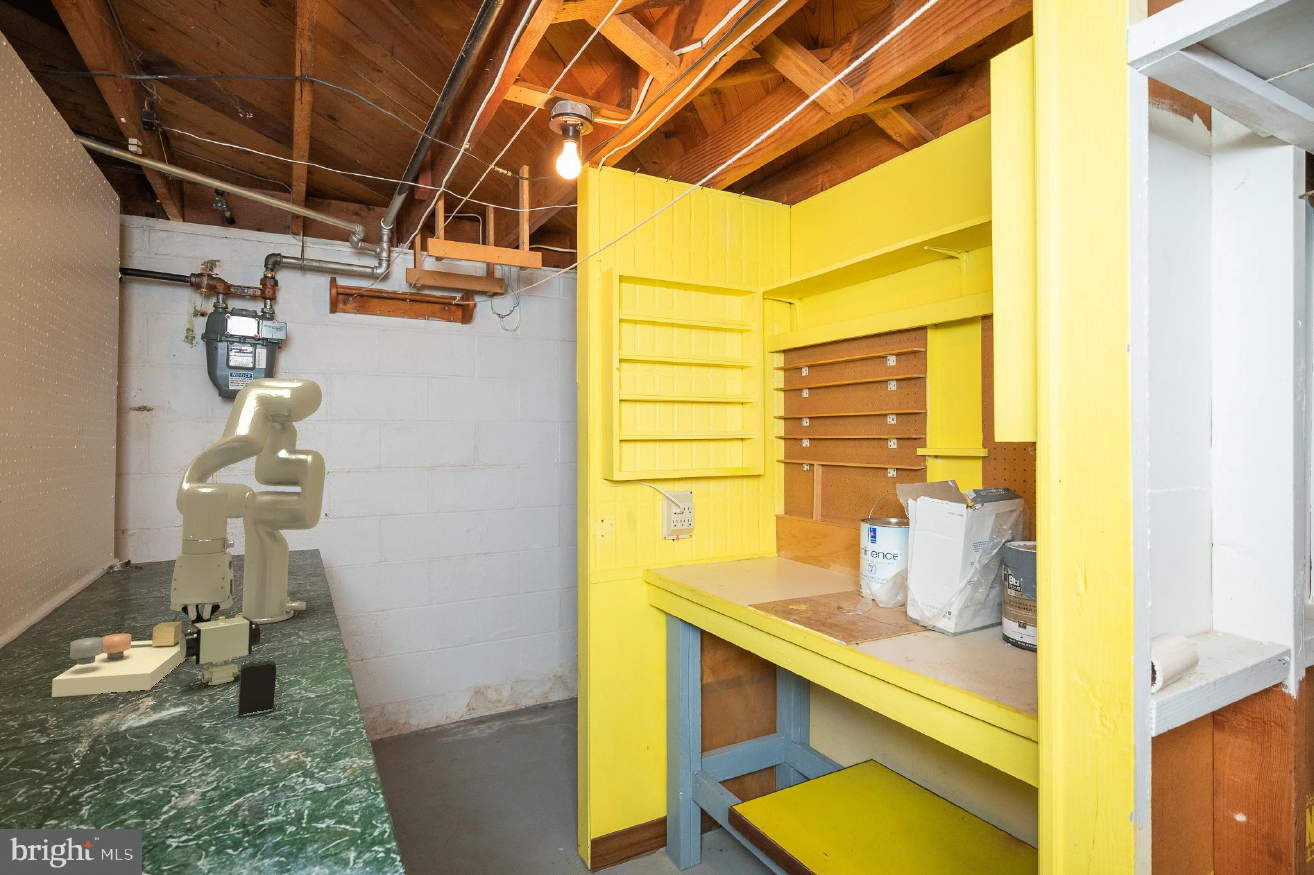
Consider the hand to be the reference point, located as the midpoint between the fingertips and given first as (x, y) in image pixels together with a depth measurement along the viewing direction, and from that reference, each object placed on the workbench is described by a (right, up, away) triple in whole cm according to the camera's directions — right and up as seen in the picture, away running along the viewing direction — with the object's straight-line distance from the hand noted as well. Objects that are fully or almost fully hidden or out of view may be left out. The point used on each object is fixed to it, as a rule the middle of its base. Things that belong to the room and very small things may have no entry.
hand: (200, 637), depth 135 cm
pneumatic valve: (+12, -5, -13) cm, 18 cm away
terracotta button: (-8, 0, -11) cm, 14 cm away
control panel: (-7, -4, -10) cm, 12 cm away
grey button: (-8, +1, -17) cm, 19 cm away
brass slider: (-6, -1, -2) cm, 6 cm away
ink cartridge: (+27, -5, -26) cm, 38 cm away
